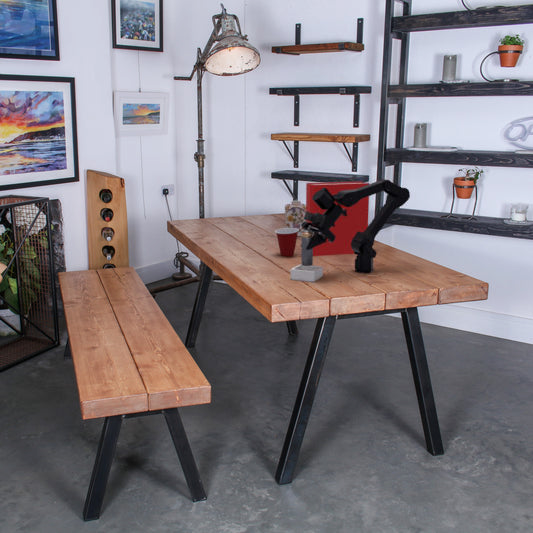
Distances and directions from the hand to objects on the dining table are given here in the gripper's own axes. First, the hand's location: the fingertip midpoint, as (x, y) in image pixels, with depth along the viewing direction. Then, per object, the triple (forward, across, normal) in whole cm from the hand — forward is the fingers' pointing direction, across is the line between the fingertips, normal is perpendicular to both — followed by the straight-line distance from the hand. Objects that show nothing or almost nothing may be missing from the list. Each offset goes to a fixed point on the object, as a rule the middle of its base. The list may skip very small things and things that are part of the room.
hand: (304, 248), depth 237 cm
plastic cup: (+1, -38, +16) cm, 42 cm away
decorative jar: (-17, -81, +35) cm, 89 cm away
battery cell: (+4, 0, +6) cm, 7 cm away
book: (-15, -34, +33) cm, 50 cm away
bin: (+8, 0, +9) cm, 12 cm away
